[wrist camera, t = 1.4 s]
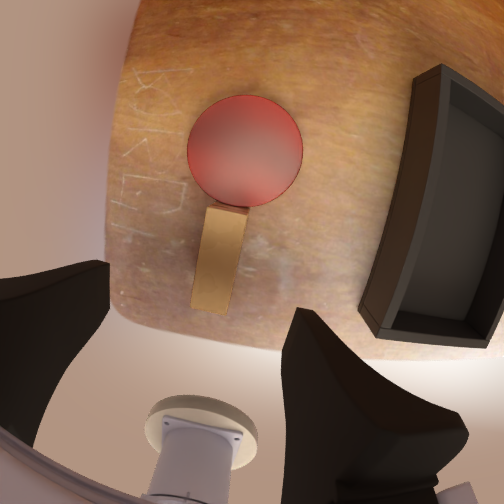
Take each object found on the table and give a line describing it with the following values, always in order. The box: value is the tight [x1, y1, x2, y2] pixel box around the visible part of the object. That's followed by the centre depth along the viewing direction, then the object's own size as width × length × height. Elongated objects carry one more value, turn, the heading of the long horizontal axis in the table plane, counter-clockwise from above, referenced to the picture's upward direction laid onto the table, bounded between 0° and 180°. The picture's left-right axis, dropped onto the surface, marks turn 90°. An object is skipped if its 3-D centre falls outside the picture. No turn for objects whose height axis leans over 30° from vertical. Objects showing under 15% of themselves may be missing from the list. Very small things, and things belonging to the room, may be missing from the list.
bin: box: [358, 63, 504, 349], centre depth 16 cm, size 18×12×4 cm, turn 167°
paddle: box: [187, 95, 303, 316], centre depth 16 cm, size 13×7×3 cm, turn 167°
